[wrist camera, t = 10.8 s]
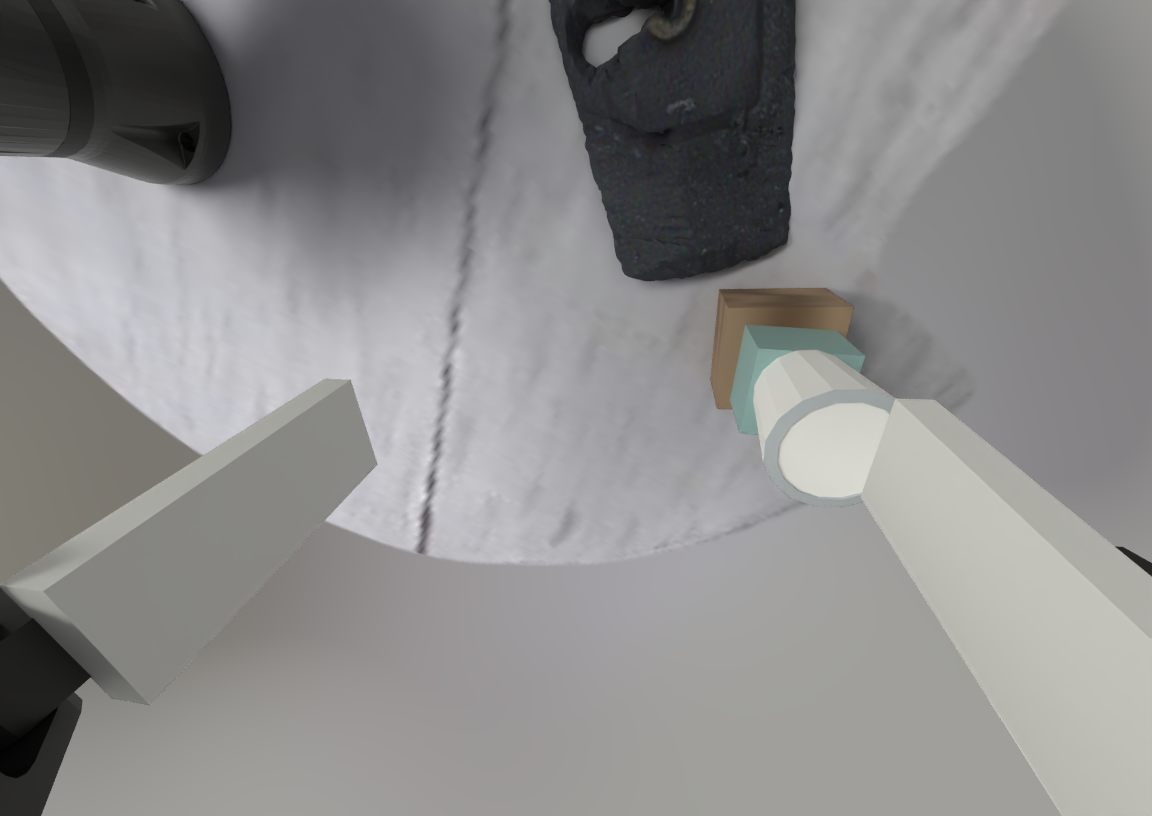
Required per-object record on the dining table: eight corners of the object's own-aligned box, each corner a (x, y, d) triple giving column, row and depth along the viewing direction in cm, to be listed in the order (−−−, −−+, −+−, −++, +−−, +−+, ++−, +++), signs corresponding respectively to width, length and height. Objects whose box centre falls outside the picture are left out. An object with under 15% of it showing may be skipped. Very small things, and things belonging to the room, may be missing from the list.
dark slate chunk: (602, 288, 37) (594, 301, 33) (542, -48, 28) (520, -87, 24) (794, 254, 33) (812, 265, 29) (798, -150, 24) (825, -218, 20)
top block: (729, 399, 33) (739, 432, 29) (745, 324, 30) (758, 348, 26) (812, 407, 32) (835, 442, 28) (836, 330, 29) (865, 356, 25)
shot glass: (884, 404, 26) (949, 471, 20) (777, 455, 29) (805, 528, 23) (828, 316, 24) (881, 360, 18) (721, 380, 27) (736, 437, 21)
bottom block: (710, 378, 39) (716, 408, 34) (719, 288, 35) (728, 307, 30) (805, 380, 37) (827, 412, 32) (825, 287, 34) (853, 307, 29)
